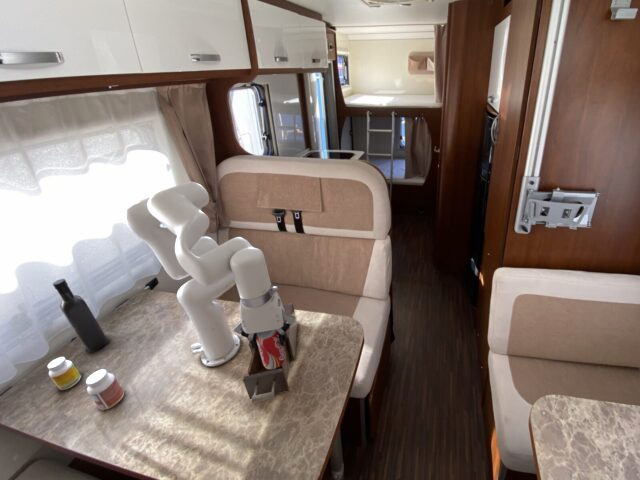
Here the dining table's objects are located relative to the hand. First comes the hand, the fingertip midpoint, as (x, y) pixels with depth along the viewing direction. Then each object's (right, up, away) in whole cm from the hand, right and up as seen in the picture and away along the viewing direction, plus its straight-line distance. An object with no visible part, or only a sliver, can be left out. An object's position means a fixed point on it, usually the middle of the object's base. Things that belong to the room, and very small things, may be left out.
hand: (270, 343), depth 83 cm
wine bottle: (-77, -16, +30) cm, 84 cm away
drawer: (-4, -18, +12) cm, 22 cm away
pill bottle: (-53, -23, +10) cm, 59 cm away
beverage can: (0, -7, +3) cm, 7 cm away
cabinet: (-7, -13, +26) cm, 30 cm away
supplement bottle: (-73, -21, +17) cm, 78 cm away
